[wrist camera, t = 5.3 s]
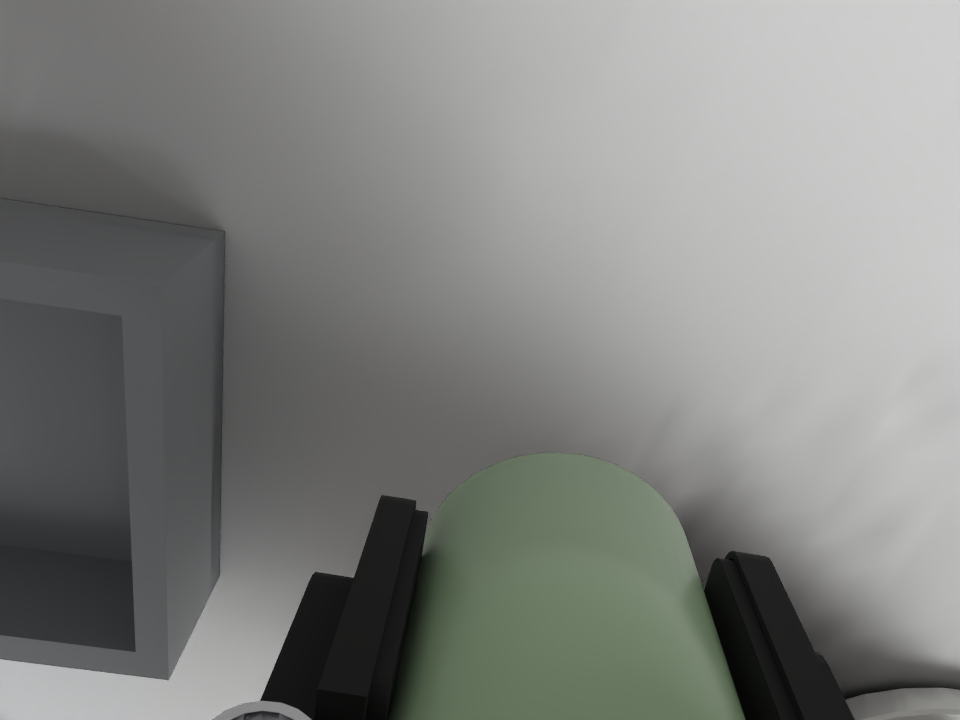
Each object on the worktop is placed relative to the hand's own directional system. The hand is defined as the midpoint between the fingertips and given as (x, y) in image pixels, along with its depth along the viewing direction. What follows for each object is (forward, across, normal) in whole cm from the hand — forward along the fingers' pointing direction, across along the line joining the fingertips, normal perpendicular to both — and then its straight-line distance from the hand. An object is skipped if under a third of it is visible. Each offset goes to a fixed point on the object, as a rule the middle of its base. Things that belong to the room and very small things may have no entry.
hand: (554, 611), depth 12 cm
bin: (+9, +14, +3) cm, 17 cm away
